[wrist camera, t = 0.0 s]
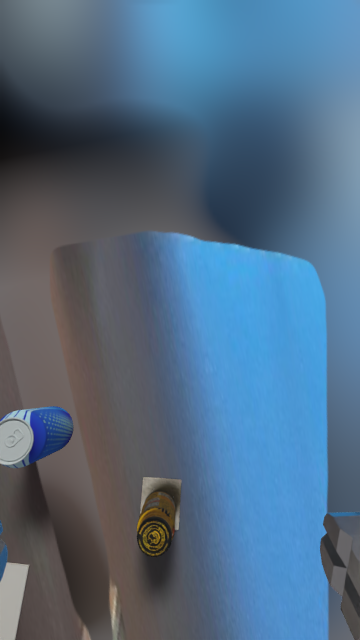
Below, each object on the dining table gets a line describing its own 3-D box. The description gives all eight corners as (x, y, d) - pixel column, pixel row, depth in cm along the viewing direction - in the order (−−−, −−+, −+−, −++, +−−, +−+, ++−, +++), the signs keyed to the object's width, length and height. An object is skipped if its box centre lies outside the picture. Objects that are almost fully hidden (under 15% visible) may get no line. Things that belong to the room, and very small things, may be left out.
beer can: (75, 448, 59) (38, 469, 43) (32, 453, 58) (-21, 475, 43) (75, 404, 61) (39, 408, 45) (33, 408, 60) (-17, 413, 45)
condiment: (139, 526, 56) (128, 562, 44) (143, 476, 58) (134, 498, 46) (178, 529, 56) (178, 565, 44) (181, 479, 58) (182, 501, 46)
